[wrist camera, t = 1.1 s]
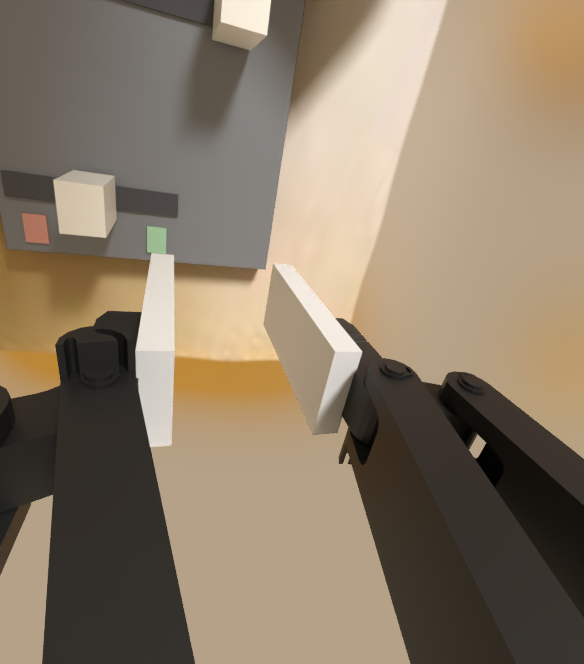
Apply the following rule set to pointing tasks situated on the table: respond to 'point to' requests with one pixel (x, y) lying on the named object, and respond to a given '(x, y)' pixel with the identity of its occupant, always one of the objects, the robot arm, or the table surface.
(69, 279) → the table surface
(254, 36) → the knob
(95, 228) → the knob
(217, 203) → the switch panel
